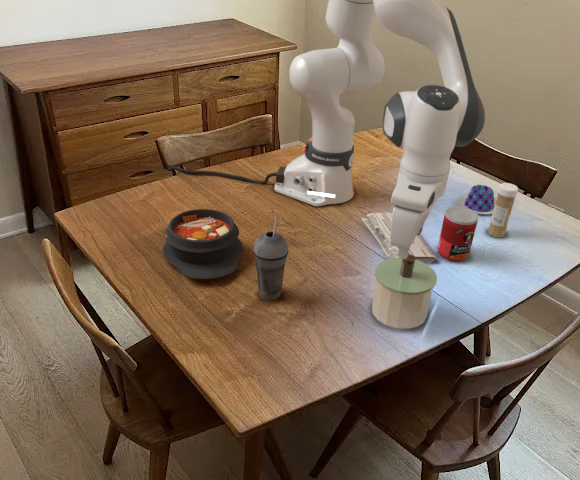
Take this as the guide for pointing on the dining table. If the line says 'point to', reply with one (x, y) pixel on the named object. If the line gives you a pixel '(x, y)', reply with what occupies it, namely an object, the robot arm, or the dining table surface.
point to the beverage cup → (270, 262)
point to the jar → (400, 307)
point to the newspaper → (381, 231)
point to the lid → (406, 275)
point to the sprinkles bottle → (502, 209)
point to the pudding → (479, 199)
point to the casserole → (203, 243)
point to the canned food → (457, 233)
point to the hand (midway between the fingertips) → (410, 244)
